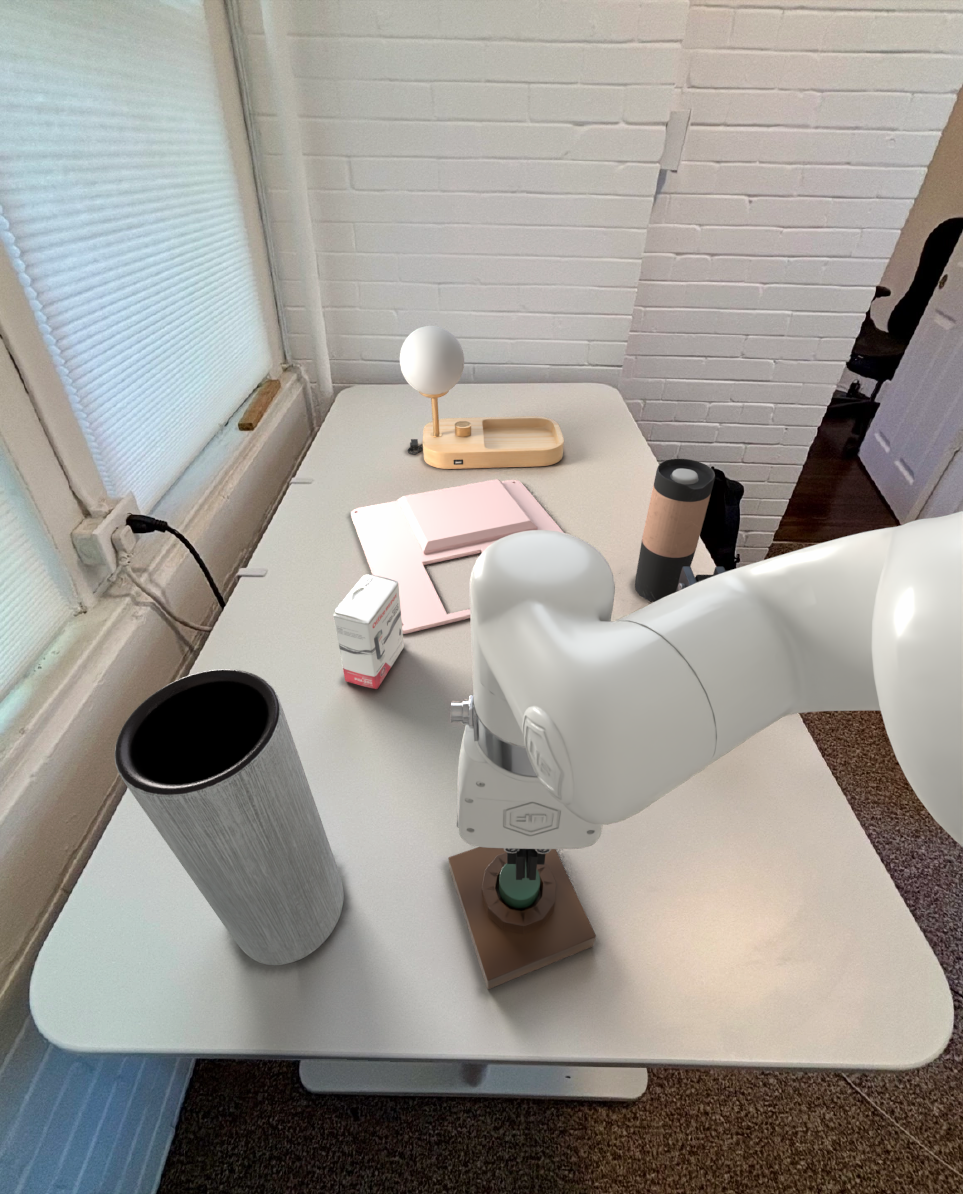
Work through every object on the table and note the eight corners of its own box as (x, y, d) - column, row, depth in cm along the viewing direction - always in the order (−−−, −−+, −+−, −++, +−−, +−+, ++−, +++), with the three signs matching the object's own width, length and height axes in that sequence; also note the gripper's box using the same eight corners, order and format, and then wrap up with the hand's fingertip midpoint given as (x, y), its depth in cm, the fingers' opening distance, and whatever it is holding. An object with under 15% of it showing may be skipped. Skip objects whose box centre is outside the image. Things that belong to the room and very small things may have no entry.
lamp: (554, 431, 135) (563, 312, 118) (566, 466, 121) (578, 338, 105) (409, 434, 134) (398, 315, 117) (405, 471, 120) (392, 341, 104)
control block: (593, 946, 52) (599, 927, 50) (487, 990, 50) (487, 973, 47) (542, 835, 60) (545, 814, 58) (448, 867, 58) (447, 847, 55)
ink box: (379, 692, 75) (367, 622, 67) (344, 682, 76) (328, 613, 69) (407, 646, 81) (399, 578, 74) (374, 638, 82) (363, 570, 75)
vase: (347, 848, 59) (289, 660, 42) (341, 958, 52) (267, 784, 34) (244, 860, 58) (142, 673, 41) (223, 974, 51) (85, 803, 33)
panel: (349, 512, 108) (347, 501, 107) (517, 481, 117) (518, 470, 115) (394, 636, 83) (393, 624, 81) (604, 584, 91) (606, 573, 90)
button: (545, 900, 52) (547, 891, 51) (507, 915, 51) (508, 906, 50) (529, 862, 54) (530, 853, 53) (493, 875, 53) (493, 866, 52)
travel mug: (644, 567, 95) (669, 453, 82) (691, 585, 91) (724, 467, 78) (624, 592, 90) (646, 474, 77) (672, 611, 87) (704, 491, 74)
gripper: (408, 767, 34) (430, 907, 46) (666, 770, 34) (623, 911, 46) (421, 673, 40) (438, 819, 52) (641, 675, 40) (609, 821, 51)
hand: (525, 862), depth 49 cm, fingers closed
